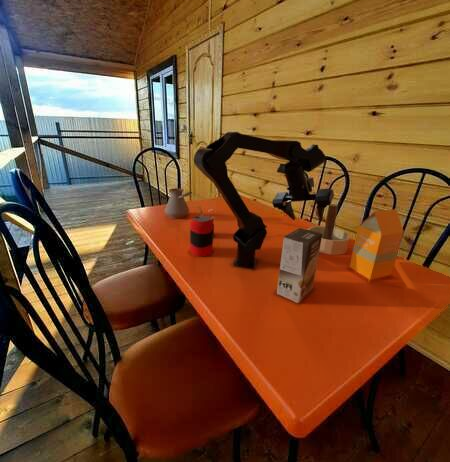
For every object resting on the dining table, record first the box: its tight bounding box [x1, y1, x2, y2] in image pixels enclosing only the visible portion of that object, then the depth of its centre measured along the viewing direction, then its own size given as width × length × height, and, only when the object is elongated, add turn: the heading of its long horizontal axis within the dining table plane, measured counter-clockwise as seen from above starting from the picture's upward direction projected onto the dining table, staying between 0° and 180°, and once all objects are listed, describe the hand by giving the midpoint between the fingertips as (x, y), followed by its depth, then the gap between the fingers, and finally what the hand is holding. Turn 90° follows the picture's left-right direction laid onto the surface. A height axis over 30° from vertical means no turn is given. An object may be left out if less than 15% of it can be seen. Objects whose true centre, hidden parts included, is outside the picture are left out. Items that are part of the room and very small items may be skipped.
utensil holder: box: [197, 204, 215, 236], centre depth 99 cm, size 6×6×12 cm
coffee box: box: [276, 227, 322, 304], centre depth 64 cm, size 9×6×16 cm
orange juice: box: [349, 208, 405, 283], centre depth 74 cm, size 8×9×20 cm
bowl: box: [307, 225, 351, 256], centre depth 92 cm, size 14×14×6 cm
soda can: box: [189, 215, 214, 257], centre depth 85 cm, size 8×8×12 cm
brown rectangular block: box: [323, 203, 339, 240], centre depth 91 cm, size 5×5×16 cm
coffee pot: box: [164, 187, 195, 219], centre depth 116 cm, size 21×12×15 cm, turn 34°
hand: (307, 219), depth 86 cm, fingers open, 9 cm apart
